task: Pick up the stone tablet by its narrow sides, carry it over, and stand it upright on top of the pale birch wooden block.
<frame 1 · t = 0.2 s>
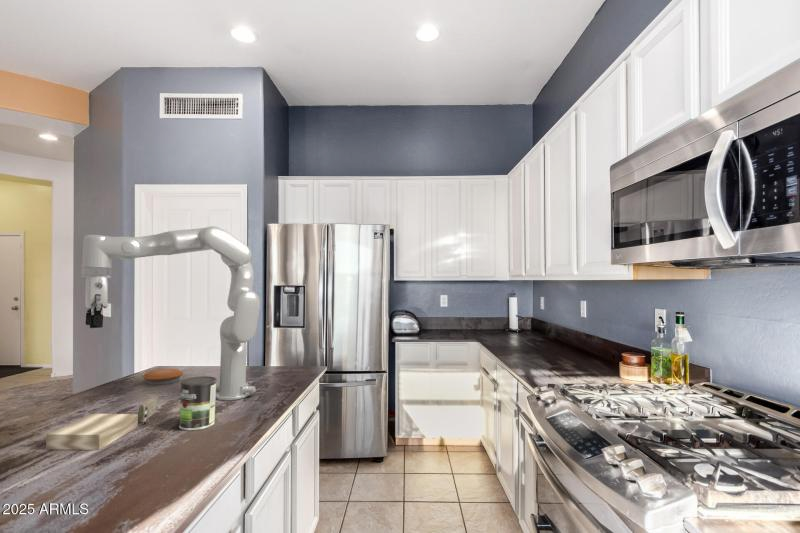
hand: (93, 326, 125), 31 cm above the counter, tool pointing down, fingers open, 9 cm apart
pie: (163, 382, 172), on the counter
birch block: (94, 437, 113), on the counter
coffee can: (197, 425, 124), on the counter
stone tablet: (147, 419, 129), on the counter
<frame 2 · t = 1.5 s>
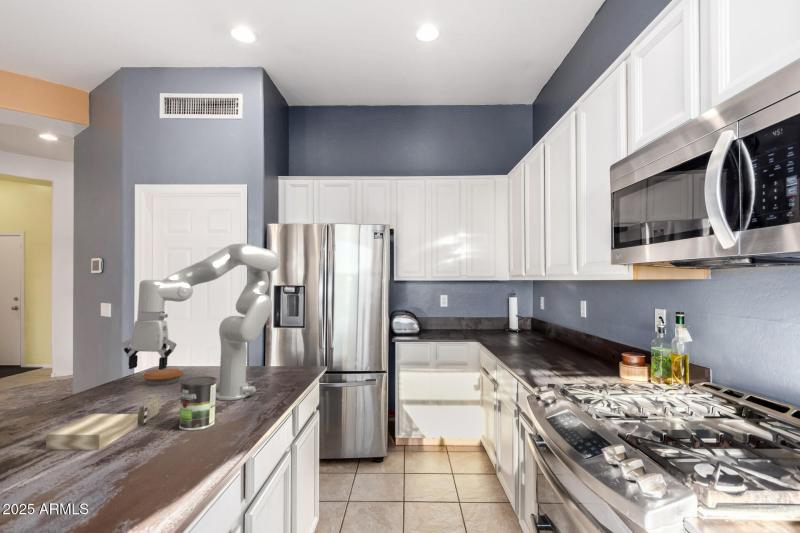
hand: (147, 368, 129), 16 cm above the counter, tool pointing down, fingers open, 9 cm apart
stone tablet: (149, 420, 128), on the counter
everything else where it was.
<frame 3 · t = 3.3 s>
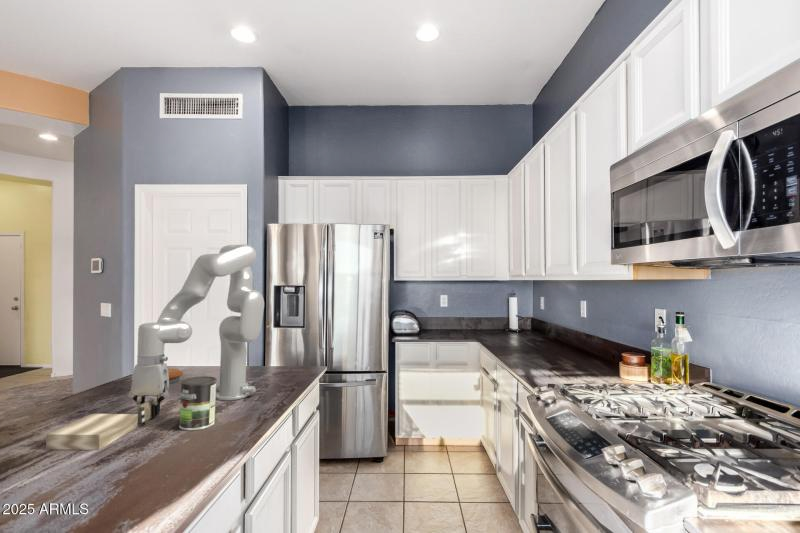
hand: (148, 415, 129), 1 cm above the counter, tool pointing down, fingers open, 3 cm apart
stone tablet: (149, 420, 127), on the counter, touching gripper
everything else where it was.
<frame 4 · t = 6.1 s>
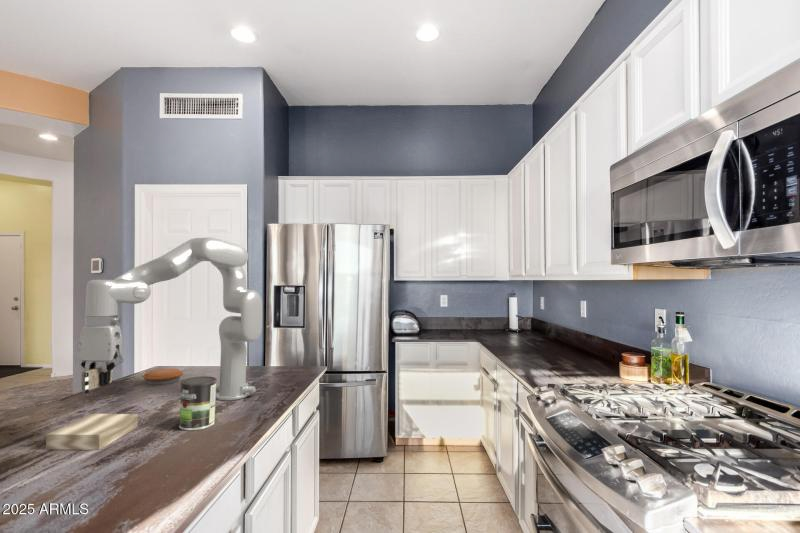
hand: (98, 384, 113), 15 cm above the counter, tool pointing down, fingers closed on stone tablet, 3 cm apart
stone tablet: (96, 389, 112), point 14 cm above the counter, touching gripper
everything else where it was.
when the fingers open (6 cm above the counter, at t = 8.0 s): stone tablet drops 1 cm, resting on birch block.
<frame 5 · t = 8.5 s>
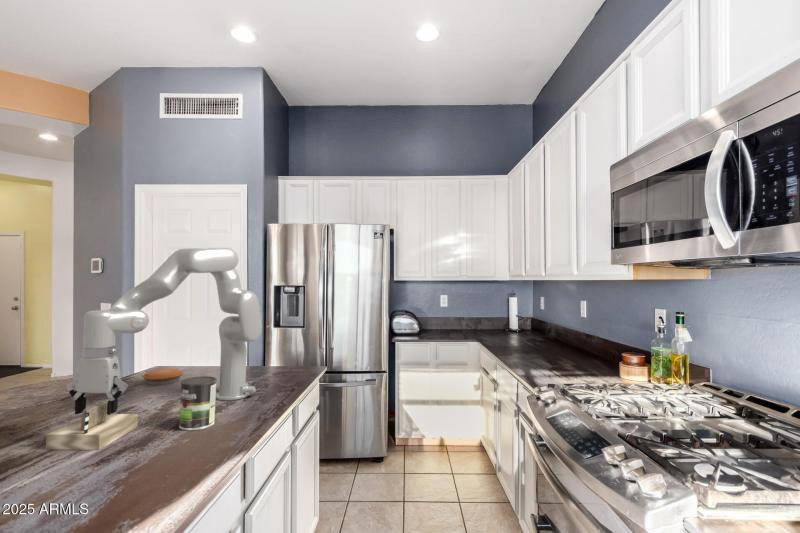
hand: (96, 412, 113), 7 cm above the counter, tool pointing down, fingers open, 8 cm apart
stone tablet: (95, 426, 111), point 4 cm above the counter, touching birch block
everything else where it was.
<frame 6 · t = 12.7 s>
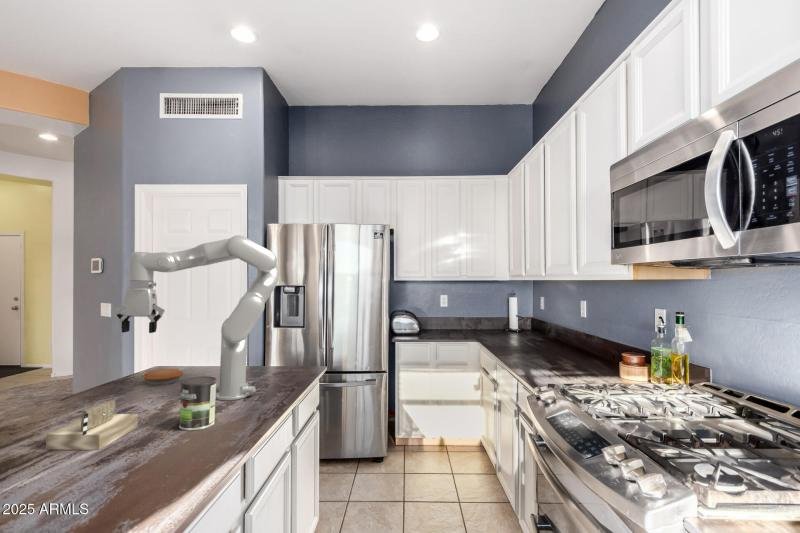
hand: (138, 332, 142), 26 cm above the counter, tool pointing down, fingers open, 9 cm apart
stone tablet: (96, 427, 110), point 4 cm above the counter, touching birch block
everything else where it was.
at the end: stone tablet inside the target area on the birch block (3.1 cm from its centre), point 3.8 cm above the birch block's base; the gripper is holding nothing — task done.
